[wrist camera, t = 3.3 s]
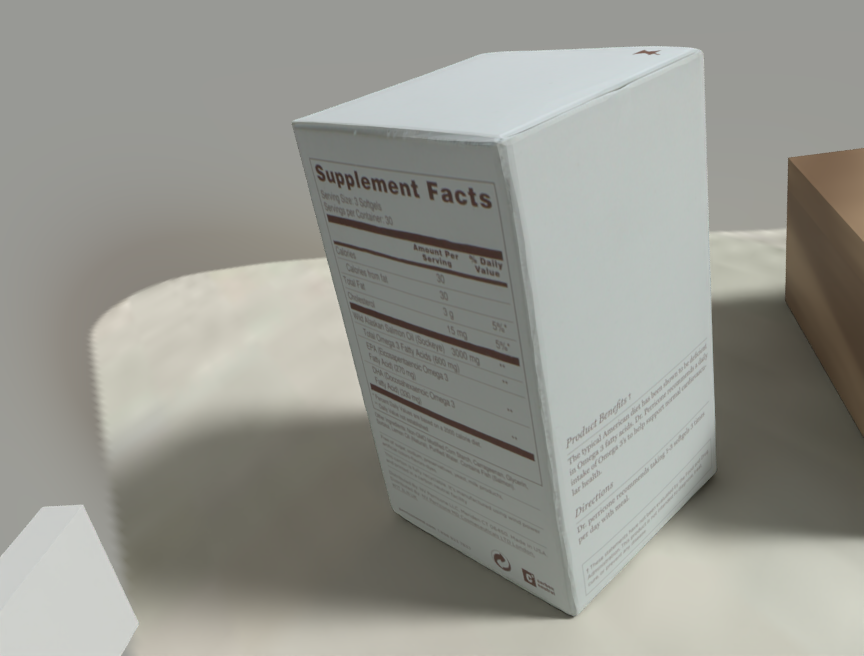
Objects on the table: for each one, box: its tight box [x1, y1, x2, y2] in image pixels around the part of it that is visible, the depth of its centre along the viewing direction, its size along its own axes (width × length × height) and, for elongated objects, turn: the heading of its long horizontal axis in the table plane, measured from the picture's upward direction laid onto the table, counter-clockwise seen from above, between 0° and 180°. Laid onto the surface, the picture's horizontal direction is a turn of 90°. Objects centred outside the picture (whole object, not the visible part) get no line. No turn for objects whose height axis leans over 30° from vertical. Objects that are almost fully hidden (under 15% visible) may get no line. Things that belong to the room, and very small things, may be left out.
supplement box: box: [292, 46, 717, 616], centre depth 22 cm, size 7×7×13 cm
